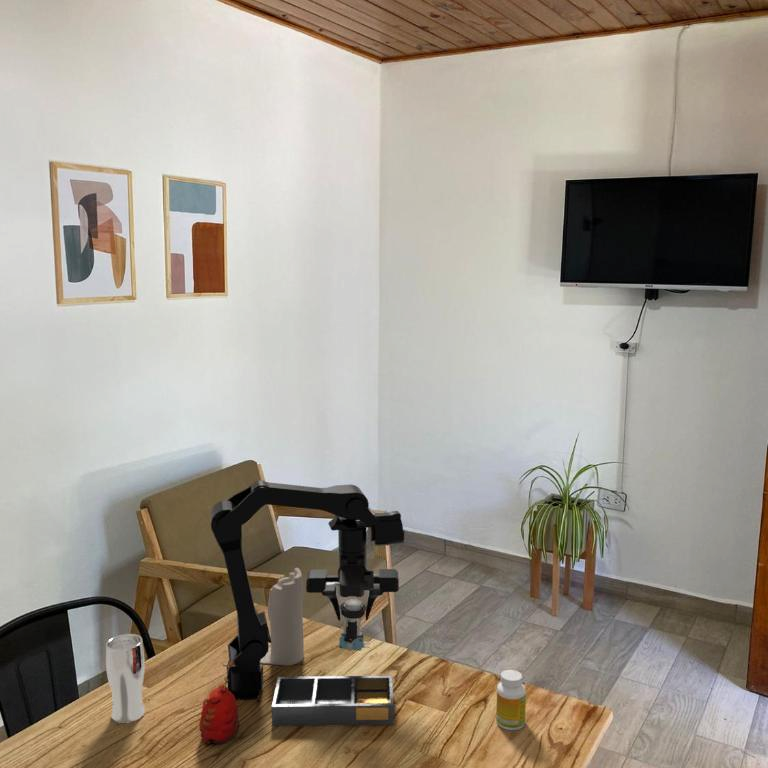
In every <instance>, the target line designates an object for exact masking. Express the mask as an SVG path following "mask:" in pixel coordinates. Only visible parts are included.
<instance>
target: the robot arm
mask: <svg viewBox="0 0 768 768" xmlns="http://www.w3.org/2000/svg"><path fill="white" fill-rule="evenodd" d="M266 505H268V506H279V507H289V508H297V509H298V508H299V509H309V510H318V511H324V512H327V513H329V514H332V515H334V517H333V518H332V519H331V520H330V521H329V522H328V523H327V524H328V526H329V529H330V530H331V531H337V532H338V533H337V534H338V542H337V543H338V570H337V575H336V574H335V575H334V574H333V575H332V574H331V575H328V571H327V569H310V570H309V571H308V572H307V575H306V576H307V577H306V582H305V584H306V585H305V586H306V587H305V589H306V593H309V594H310V593H311V594H317V593H318V594H321V596H323V597H327V598H328V599H329V601H330V603H331V604H332V607H333V610H334V612H335V615H336V618H337V620H338V621H339V622H340V621H341V618H342V617H341V616H342V614H341V609H340V606H341V603H340V596H341V597H342V598H348V597H350V598H351V597H355V598H362V597H363V596H364V595H365V591H367V597H366V604H365V606H366V611H365V621H368V620H369V617H370V614H371V611H372V609H373V606H374V603H375V602H376V599H377V598H378V597H379V596H383V595H384V593H397V592H399V587H400V585H399V582H400V581H399V580H400V579H399V572H398V570H396V568H379V569H378V574H375V573H374V570H368V567H367V564H368V563H367V548H368V547H367V542H368V541H369V542H370V543H372V542H373V545H374V546H375V547H383V546H384V547H387V546H397V545H403V544H404V541H405V530H404V526H403V521H402V515H401V513H400V512H399V511H398V510H393V511H390V512H389V511H388V512H378V513H375V512H374V510H373V509H372V508H371V507H370V506H369V501H368V498H367V497H366V496H365V494H364V492H363V491H362V490H361V489H360V487H358V486H357V485H354V484H341V485H340V484H338V485H332V486H328V487H314V486H306V485H305V486H304V485H296V484H288V483H279V482H277V483H276V482H270V481H269V482H268V481H266V480H257V481H254V482H253V483H252V484H250V485H249V486H248V487H246V488H244V489H242V490H240V491H239V492H237V493H235V494H233V495H232V496H231V497H229V498H228V499H227V500H221V501H219V502H218V501H217V503H215V504H214V505H213V506H212V508H211V509H210V511H209V512H210V513H209V515H210V528H211V532H212V533H213V535H214V538H215V541H216V543H217V545H218V547H219V549H220V550H221V552H222V554H223V557H224V561H225V566H226V567H225V568H226V571H227V574H228V578H229V579H228V580H229V584H230V588H231V592H232V596H233V601H234V606H235V611H236V622H237V623H236V624H237V625H236V628H237V635H235V637H234V638H233V639H232V640H231V641H230V642H229V643H228V644H227V652H228V662H227V663H226V666H228V664H229V663H230V662H231V661H232V659H234V660H233V661H234V665H236V666H234V667H230V668H229V672H228V667H226V673H227V672H228V682H227V683H226V686H227V689H228V690H229V691H230V692H231V693H232V694H233V695H234V696H235V699H236V700H256V699H257V700H258V699H259V698H260V697H259V696H260V694H261V692H262V691H263V688H264V667H263V665H261V663H260V660H261V659H262V658H263V657H265V655H266V654H267V653H268V650H269V647H270V646H269V644H271V633H270V628H269V625H268V622H267V620H268V619H267V615H266V612H265V611H262V612H260V613H258V611H257V608H256V606H255V603H254V598H253V594H252V590H251V585H250V580H249V575H248V570H247V567H246V562H245V557H244V552H243V547H242V546H243V543H242V542H243V533H242V529H243V528H242V526H243V525H245V524H246V523H247V522H248V521H249V520H251V519H252V518H253V517H254V515H255V514H256V513H257V512H258V511H260V509H262V508H263V507H264V506H266ZM367 538H368V541H367ZM338 586H339V587H338ZM339 594H340V595H339Z"/></svg>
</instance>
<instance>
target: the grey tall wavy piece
mask: <svg viewBox="0 0 768 768" xmlns="http://www.w3.org/2000/svg"><path fill="white" fill-rule="evenodd" d="M303 591H304V590H303V574H302V571H301V570H300V568H298V567H295V568H294V571H293V572H289V575H288V577H282V578H280V579H278V580H277V583H276V584H274V585H273V586H272V587H271V588H270V589H269V596H268V602H267V617H268V621H269V627H270V628H269V633H270V637H271V643H270V646H269V650H268V653H267V654H266V655H265V657H263V658H262V659H261V660H260V664H262V665H275V666H276V665H277V666H279V665H280V666H293V665H296V664H298V663H301V661H303V660H304V656H305V654H304V653H305V651H304V649H305V648H304V647H305V646H304V645H305V644H304V620H303V619H304V618H303V614H304V613H303V603H304V602H303V600H304V599H303V597H304V595H303V594H304V593H303Z"/></svg>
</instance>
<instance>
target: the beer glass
mask: <svg viewBox="0 0 768 768" xmlns="http://www.w3.org/2000/svg"><path fill="white" fill-rule="evenodd" d="M145 664H146V663H145V651H144V643H143V638H142V636H141V635H138V634H135V633H127V634H119V635H115V636H114V637H112V638H110V639H108V641H107V642H106V643H105V667H106V668H105V669H106V675H107V676H106V677H107V680H108V684H109V688H110V693H111V696H112V710H111V719H113V720H114V721H116V722H120V723H127V722H132V723H134V722H133V721H135V722H137V721H139V720H140V719H142V718H143V717H144V715H145V712H146V708H145V705H144V702H143V685H144V677H145V668H146V667H145ZM142 716H143V717H142ZM141 717H142V718H141ZM138 719H139V720H138ZM113 720H112V721H113ZM136 720H137V721H136ZM114 721H113V722H114ZM116 722H115V723H116ZM120 723H119V724H120ZM127 724H128V723H127Z"/></svg>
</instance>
